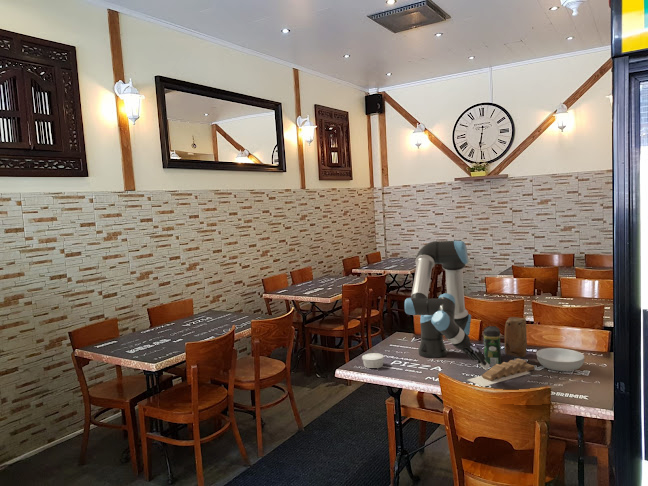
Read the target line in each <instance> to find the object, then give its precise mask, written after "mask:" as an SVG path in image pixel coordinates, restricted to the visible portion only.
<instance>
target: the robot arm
mask: <svg viewBox="0 0 648 486" xmlns="http://www.w3.org/2000/svg"><path fill="white" fill-rule="evenodd" d="M468 254H469V253H468V248H467V246H466V243H465V241H463V240H456V239H455V240H433V241H431V242H428V243H426V244H424V245H423V246H422V247H421V248H420V249H419V251H418V252H417V254H416V257H415V261H414V262H415V263H414V264H415V265H416V266H415V272H414V278H413V284H412V288H411V294H410V297H407V298H406V299H405V300H404V312H405V314H406V315H410V316H411V315H412V316H420V317H419V318H420V321H419V323H420V343H419V346H418V351H417V352H418V355H419V356H421V357H424V358H429V359H431V358H434V359H435V358H436V359H437V358H442V357H445V356H446V355H447V348H446V344H445V341H444V338H445V339H447V342H448V343H450V344H452V345H453V347H455V348H456V350H460V351H461V352H462V353H464V354H465V355H466V356H467V357H469V358H470V359H471V360H474V361H476V362H477V364H478V365H479V366H481V368H482V369H483V370H485V371H488V370H489V368H490V367H491V364H488V363H487V362H486V361H485V356H484V353H482V351H481V349H480V348H479V347H477V346H476V347H475V346H474V344H472V342H471V341H470V340H471V339H470V336H469V335H470V333H471V322H472V320H471V319H472V315H471V313H469V311H468V310H467V309H466V307H465V306H466V305H465V291H464V289H465V288H464V275H463V274H464V272H463V271H464V268H466V265H467V264H468V263H469V256H468ZM435 265H441V267H442V269H443V270H444V271H445V283H446V284H445V286H446V293H443V294H442V293H441V294H439V296H438V298H430V297H429V291H430V284H431V283H430V282H431V277H432V269H433V268H434V267H435Z"/></svg>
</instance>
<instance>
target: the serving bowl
mask: <svg viewBox="0 0 648 486" xmlns="http://www.w3.org/2000/svg"><path fill="white" fill-rule="evenodd" d="M535 353H536V359H537V362H538V363H539V364H540V365H541V366H542V367H544V368H545V369H549V370H552V371H556V372H572V371H577V370H579V369H580V368H581V367H582V366H583V365H584V362H585V355H584V354H583V353H581V352H580V351H577V350H573V349H567V348H562V347H561V348H560V347H547V348H541V349H539V350H537V351H536V352H535Z"/></svg>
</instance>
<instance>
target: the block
mask: <svg viewBox="0 0 648 486" xmlns="http://www.w3.org/2000/svg"><path fill="white" fill-rule="evenodd" d="M527 333H528V332H527V321H526V318H523V317H519V316H517V317H516V316H510V317H508V318H507V320H506V322H505V325H504V353H505V356H514V357H518V358H525V357H526V356H527V347H528V346H527V345H528V341H527V340H528V337H527Z"/></svg>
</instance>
